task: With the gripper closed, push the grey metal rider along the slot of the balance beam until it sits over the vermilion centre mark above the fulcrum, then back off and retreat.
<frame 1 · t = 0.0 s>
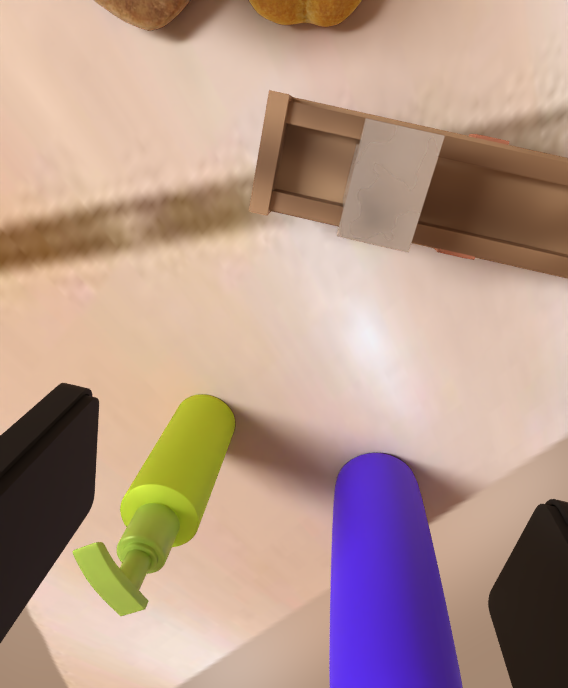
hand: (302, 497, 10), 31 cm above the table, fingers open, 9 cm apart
rider: (383, 183, 28), point 9 cm above the table, slide at -6.0 cm
bottle: (375, 482, 48), on the table
beam: (452, 189, 36), on the table
soap dispenser: (203, 415, 47), on the table
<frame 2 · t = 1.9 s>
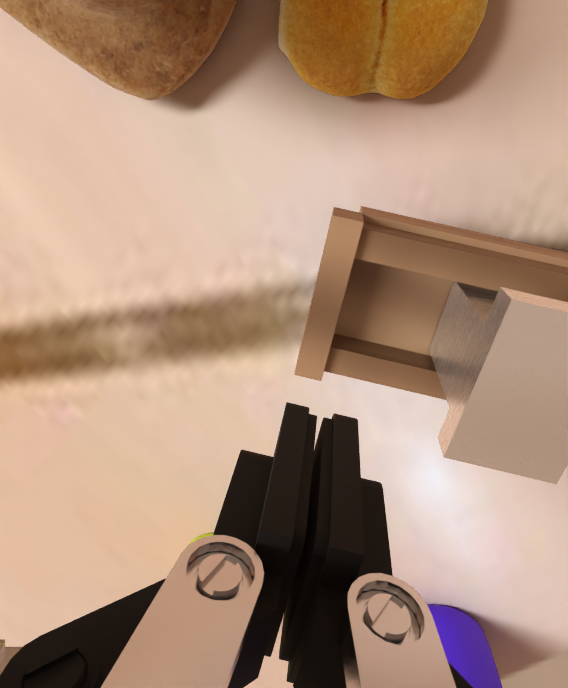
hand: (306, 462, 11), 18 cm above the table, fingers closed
rider: (507, 357, 18), point 9 cm above the table, slide at -6.0 cm
bottle: (432, 634, 39), on the table
beam: (564, 309, 27), on the table
bread roll: (373, 3, 22), on the table
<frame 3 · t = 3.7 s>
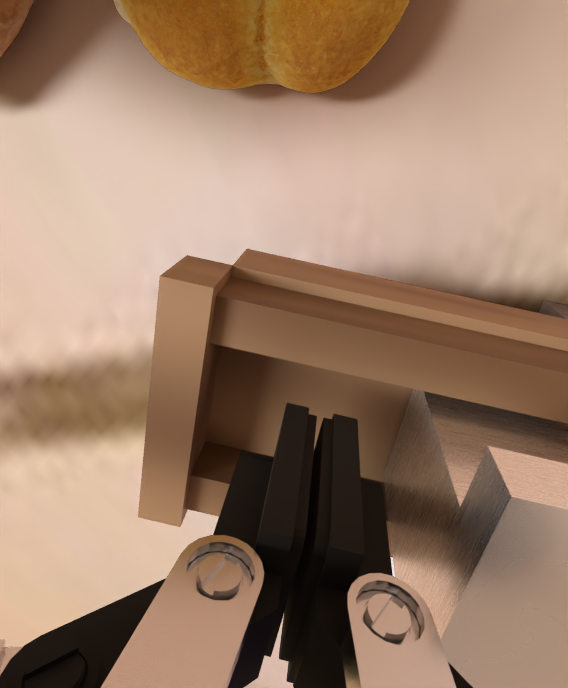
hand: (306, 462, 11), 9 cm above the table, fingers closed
rider: (504, 526, 11), point 9 cm above the table, slide at -5.1 cm, touching gripper
beam: (562, 382, 19), on the table
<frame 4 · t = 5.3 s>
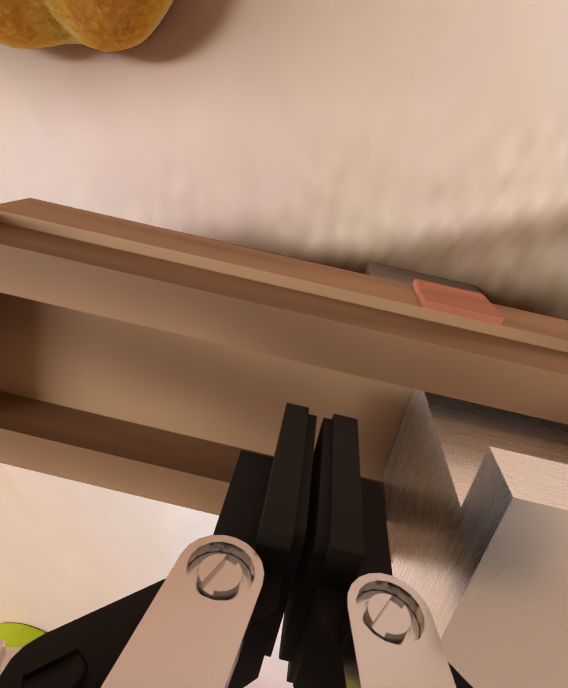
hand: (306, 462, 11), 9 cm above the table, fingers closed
rider: (504, 526, 11), point 9 cm above the table, slide at 1.5 cm, touching gripper
beam: (396, 345, 19), on the table
soap dispenser: (23, 647, 30), on the table
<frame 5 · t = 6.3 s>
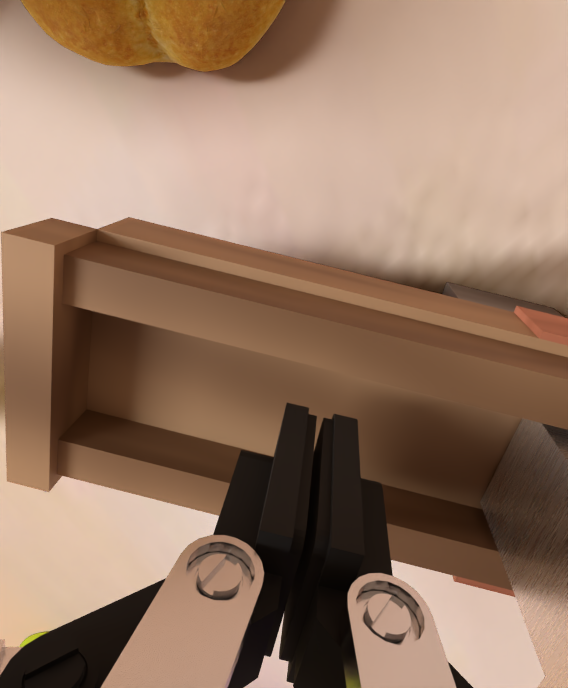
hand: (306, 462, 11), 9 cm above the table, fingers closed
beam: (469, 365, 19), on the table
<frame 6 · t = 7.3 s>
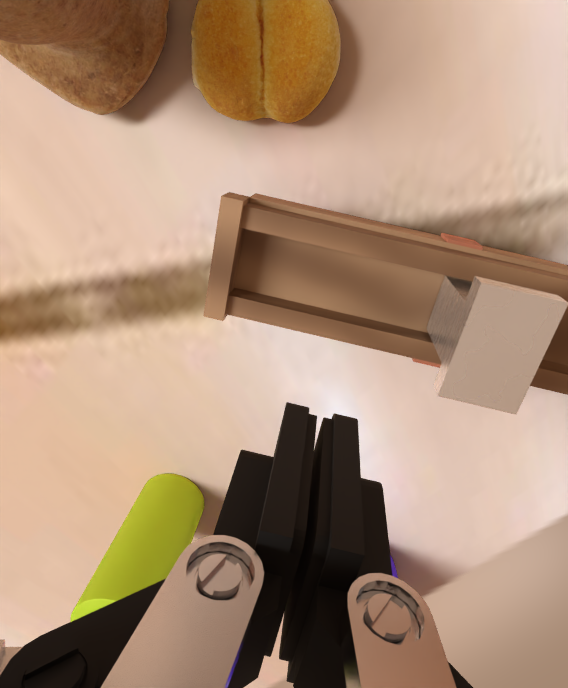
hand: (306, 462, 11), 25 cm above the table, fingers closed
rider: (482, 328, 26), point 9 cm above the table, slide at 1.5 cm
beam: (427, 277, 34), on the table
soap dispenser: (171, 493, 45), on the table
bread roll: (265, 53, 30), on the table
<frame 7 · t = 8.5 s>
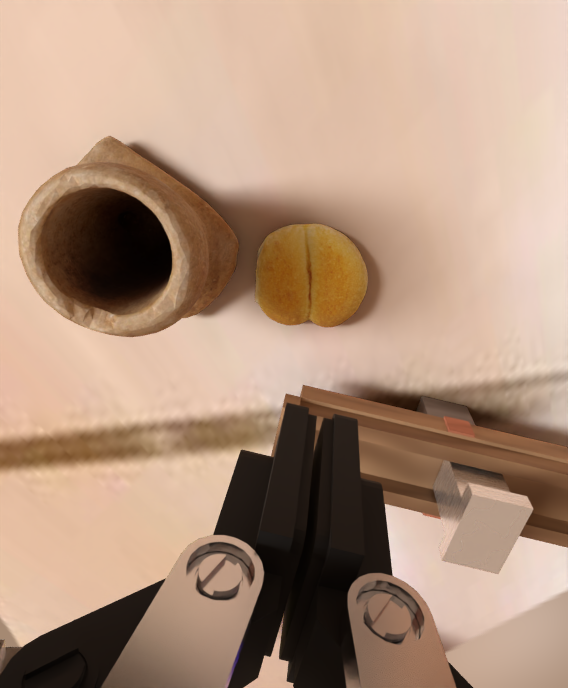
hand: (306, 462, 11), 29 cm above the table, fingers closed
rider: (474, 503, 35), point 9 cm above the table, slide at 1.5 cm
stone cup: (157, 218, 39), on the table
beam: (433, 429, 44), on the table
bread roll: (308, 274, 40), on the table
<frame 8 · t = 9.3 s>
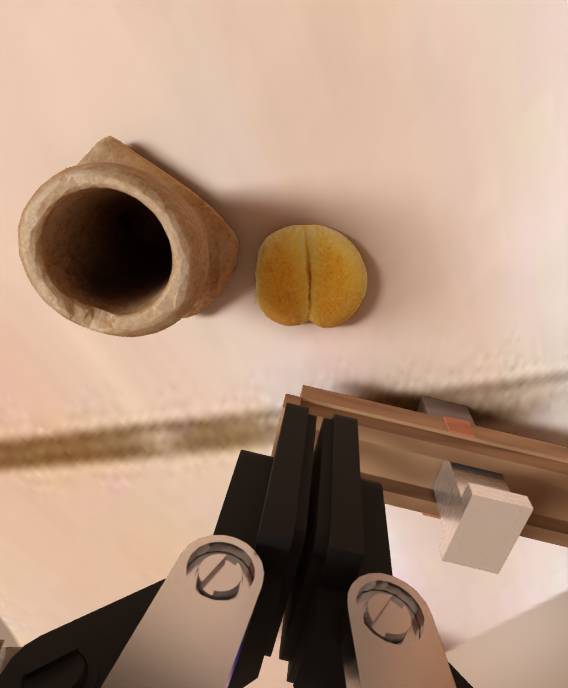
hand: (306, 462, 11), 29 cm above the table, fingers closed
rider: (474, 503, 35), point 9 cm above the table, slide at 1.5 cm
stone cup: (157, 218, 39), on the table
beam: (433, 429, 44), on the table
bread roll: (308, 274, 40), on the table
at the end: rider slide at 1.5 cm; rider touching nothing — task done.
